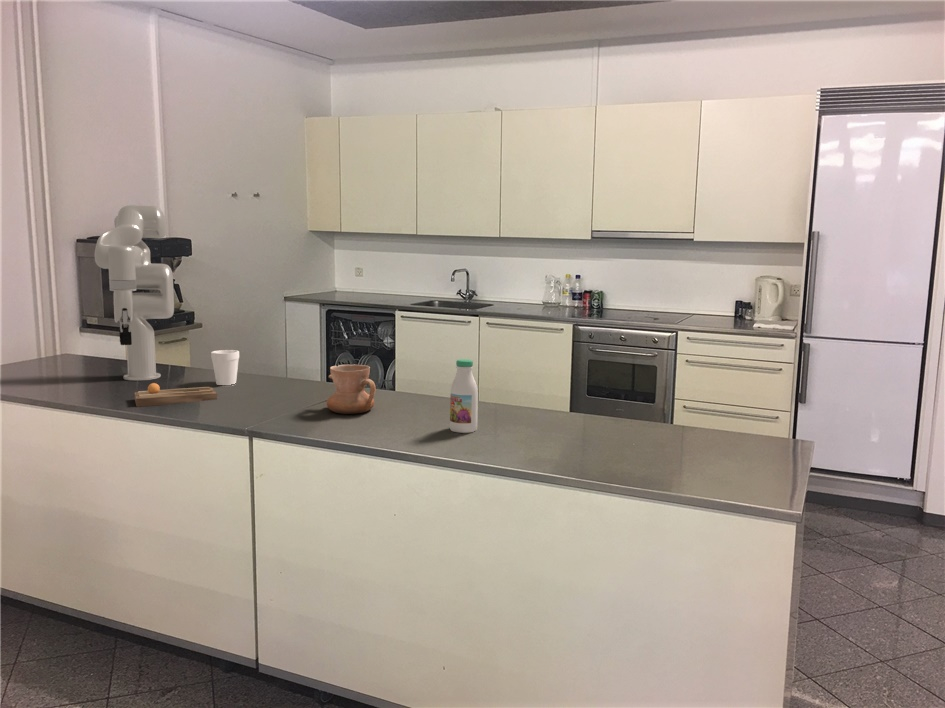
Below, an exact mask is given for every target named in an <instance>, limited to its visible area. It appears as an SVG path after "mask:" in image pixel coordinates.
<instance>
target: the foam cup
mask: <svg viewBox="0 0 945 708" xmlns="http://www.w3.org/2000/svg"><path fill="white" fill-rule="evenodd" d="M210 353H211V354H210V357H211V360H212V366H213V371H214V378H215V384H216V386H217V385H231V384H235V383H236V384H237V377H238V370H239V369H238V367H239V360H240V351H239V350H237V349H236V350H234V349H222V350H221V349H220V350H219V349H218V350H213V351H211V352H210ZM236 384H235V385H236Z"/></svg>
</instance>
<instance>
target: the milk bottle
mask: <svg viewBox="0 0 945 708" xmlns="http://www.w3.org/2000/svg"><path fill="white" fill-rule="evenodd" d="M473 365H474V360H472V359H468V358H467V359H466V358H464V359H463V358H461V359H456V367H455V368H456V369H457V370H456V373H455V376H454V379H453V381H452V383H451V386H450V394H449V395H450V398H449V399H450V404H449V405H450V406H449V429H450V431H452V432H454V433H458V434H459V433H460V434H461V433H463V434H468V433H474V431H475V432H476V431H477V430H478V406H479V403H478V402H479V401H478V400H479V398H478V397H479V395H478V394H479V393H478V391H479V390H478V385H477V383H476V380H475V377H474V375H473Z"/></svg>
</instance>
